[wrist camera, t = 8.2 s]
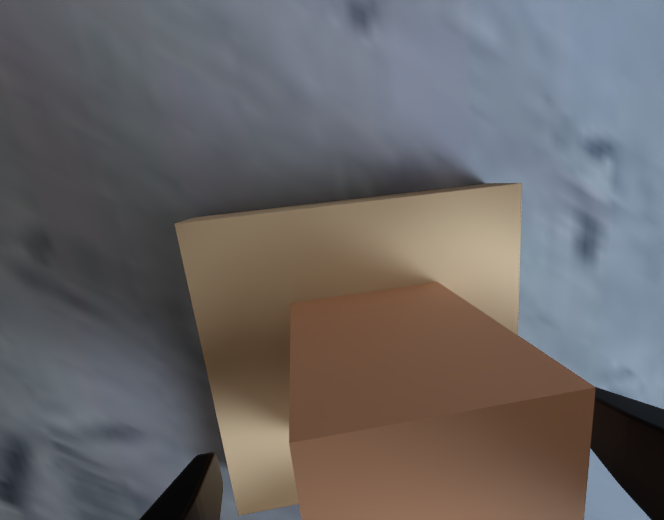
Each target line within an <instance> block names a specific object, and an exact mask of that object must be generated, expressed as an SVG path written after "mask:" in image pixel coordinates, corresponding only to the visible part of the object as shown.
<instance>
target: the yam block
mask: <svg viewBox="0 0 664 520" xmlns="http://www.w3.org/2000/svg"><path fill="white" fill-rule="evenodd" d="M595 389H596V387H594V386H593V385H591V384H590V383H588V382H587V381H585V380H584V379H582V378H581V377H579V376H578V375H576V374H575V373H573V372H572V371H570V370H569V369H567V368H566V367H564V366H563V365H561V364H560V363H558V362H557V361H555V360H554V359H552V358H551V357H549V356H548V355H546V354H545V353H543V352H542V351H540V350H539V349H537V348H536V347H534V346H533V345H531V344H530V343H528V342H527V341H525V340H524V339H522V338H521V337H519V336H518V335H516V334H515V333H513V332H512V331H510V330H509V329H507V328H506V327H504V326H503V325H501V324H500V323H498V322H497V321H495V320H494V319H493V318H491V317H490V316H488V315H487V314H485V313H484V312H482V311H481V310H479V309H478V308H476V307H475V306H473V305H472V304H470V303H469V302H467V301H466V300H464V299H463V298H461V297H460V296H458V295H457V294H455V293H454V292H452V291H451V290H449V289H448V288H446V287H445V286H443V285H442V284H440V283H439V282H435V283H428V284H421V285H414V286H407V287H400V288H393V289H386V290H379V291H372V292H366V293H359V294H352V295H345V296H338V297H331V298H324V299H317V300H310V301H303V302H296V303H291V316H290V399H289V447H290V453H291V459H292V465H293V471H294V477H295V483H296V489H297V495H298V501H299V507H300V513H301V519H302V520H584V512H585V501H586V490H587V479H588V467H589V456H590V445H591V434H592V423H593V412H594V401H595Z"/></svg>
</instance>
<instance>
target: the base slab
mask: <svg viewBox="0 0 664 520" xmlns="http://www.w3.org/2000/svg"><path fill="white" fill-rule="evenodd" d="M521 203H522V183H486V184H478V185H469V186H461V187H452V188H443V189H435V190H426V191H417V192H409V193H400V194H391V195H383V196H374V197H366V198H357V199H348V200H340V201H331V202H322V203H314V204H305V205H296V206H288V207H279V208H271V209H262V210H253V211H245V212H236V213H227V214H219V215H210V216H201V217H193V218H190V219H187V220H184V221H181V222H178V223H175V229H176V233H177V238H178V243H179V247H180V252H181V256H182V261H183V265H184V270H185V274H186V279H187V283H188V288H189V293H190V297H191V302H192V306H193V311H194V315H195V320H196V324H197V329H198V334H199V338H200V343H201V347H202V352H203V356H204V361H205V365H206V370H207V375H208V379H209V384H210V388H211V393H212V397H213V402H214V406H215V411H216V415H217V420H218V425H219V429H220V434H221V438H222V443H223V447H224V452H225V456H226V461H227V466H228V470H229V475H230V479H231V484H232V488H233V493H234V497H235V502H236V507H237V511H238V516H239V515H244V514H249V513H254V512H259V511H265V510H270V509H275V508H280V507H285V506H290V505H295V504H299V501H298V495H297V489H296V483H295V477H294V471H293V465H292V459H291V453H290V447H289V399H290V316H291V303H296V302H303V301H310V300H317V299H324V298H331V297H338V296H345V295H352V294H359V293H366V292H372V291H379V290H386V289H393V288H400V287H407V286H414V285H421V284H428V283H435V282H439V283H440V284H442V285H443V286H445V287H446V288H448V289H449V290H451V291H452V292H454V293H455V294H457V295H458V296H460V297H461V298H463V299H464V300H466V301H467V302H469V303H470V304H472V305H473V306H475V307H476V308H478V309H479V310H481V311H482V312H484V313H485V314H487V315H488V316H490V317H491V318H493V319H494V320H495V321H497V322H498V323H500V324H501V325H503V326H504V327H506V328H507V329H509V330H510V331H512V332H513V333H515V334H516V335H518V311H519V275H520V239H521Z"/></svg>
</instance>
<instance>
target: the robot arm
mask: <svg viewBox="0 0 664 520" xmlns="http://www.w3.org/2000/svg"><path fill="white" fill-rule="evenodd" d="M590 448H591V449H592V450H593V452H594V453H595V454H596V456H597V457H598V458H599V459H600V461H601V462H602V463H603V464H604V466H605V467H606V468H607V470H608V471H609V472H610V473H611V475H612V476H613V477H614V478H615V479H616V481H617V482H618V483H619V484H620V486H621V487H622V488H623V489H624V490H625V491H626V492H627V493H628V495H629V496H630V497H631V498H632V499H633V500H634V501H635V502H636V503H637V504H638V506H639V507H640V508H641V509H642V510H643V511H644V512H645V513H646V514H647V515H648V516H649V518H650V519H651V520H664V409H661V408H658V407H655V406H652V405H649V404H646V403H643V402H639V401H636V400H633V399H630V398H627V397H624V396H621V395H618V394H615V393H612V392H609V391H606V390H603V389H600V388H597V387H596V389H595V401H594V412H593V423H592V434H591V445H590ZM222 494H223V481H222V476H221V472H220V467H219V463H218V458H217V456H216V454H215V453H213V452H211V453H205V454H200V455H197V456H196V457H195V458H194V459H193V460H192V461H191V462H190V463H189V464H188V465H187V467H186V468H185V469H184V470H183V471H182V472H181V473H180V474H179V476H178V477H177V478H176V479H175V480H174V481H173V482H172V483H171V485H170V486H169V487H168V488H167V489H166V490H165V491H164V492H163V494H162V495H161V496H160V497H159V498H158V499H157V500H156V501H155V502H154V504H153V505H152V506H151V507H150V508H149V509H148V510H147V511H146V513H145V514H144V515H143V516H142V517H141V518H140V519H139V520H220V511H221V502H222Z"/></svg>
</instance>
